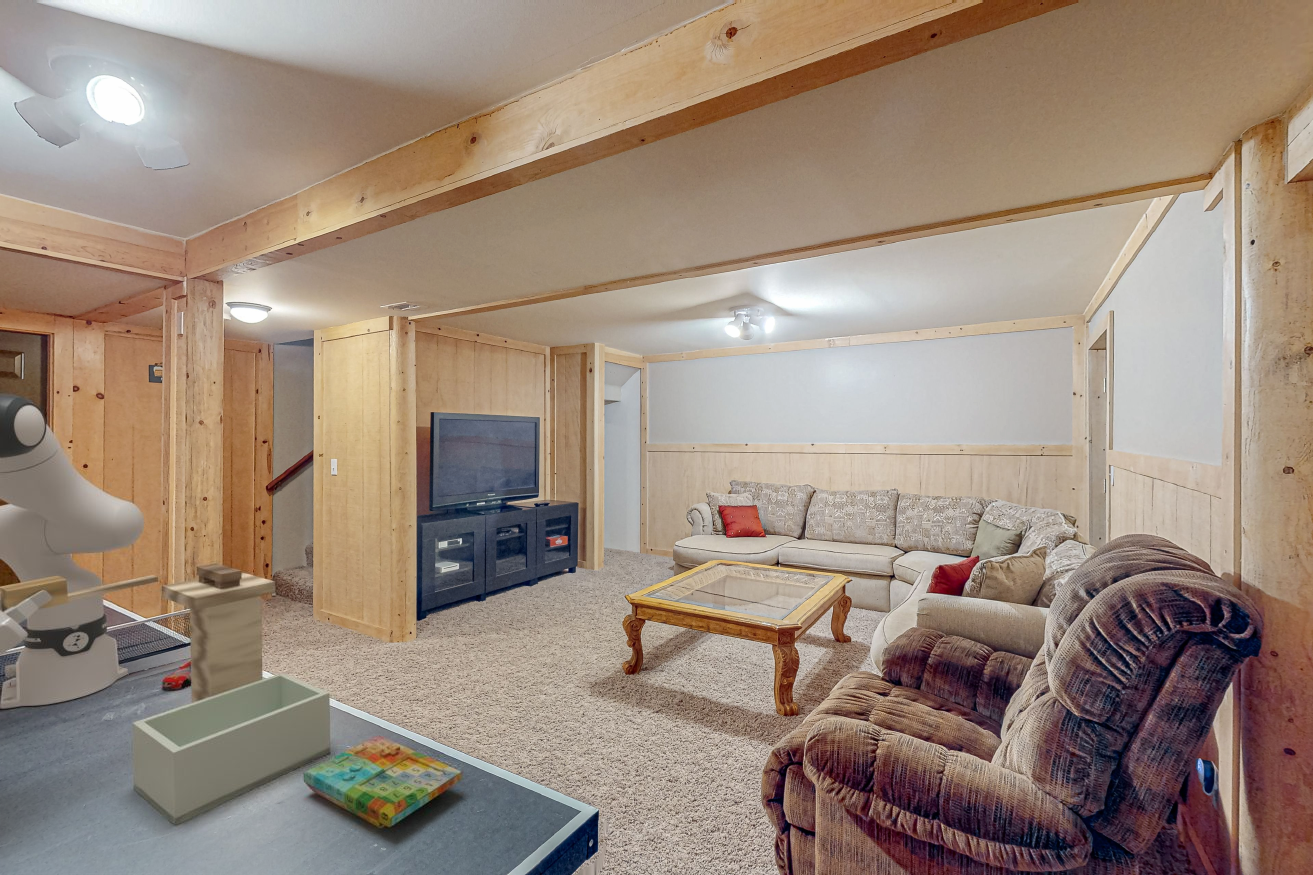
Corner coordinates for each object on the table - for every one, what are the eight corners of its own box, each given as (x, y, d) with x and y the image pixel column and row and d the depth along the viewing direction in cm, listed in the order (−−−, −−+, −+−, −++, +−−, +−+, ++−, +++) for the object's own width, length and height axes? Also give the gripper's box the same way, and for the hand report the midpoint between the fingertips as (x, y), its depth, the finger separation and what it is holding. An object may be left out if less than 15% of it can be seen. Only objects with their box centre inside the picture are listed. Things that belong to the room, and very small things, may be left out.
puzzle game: (376, 730, 96) (462, 765, 86) (376, 758, 96) (462, 797, 86) (303, 766, 86) (390, 811, 76) (303, 797, 86) (391, 846, 76)
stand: (164, 731, 104) (161, 570, 104) (241, 704, 114) (238, 557, 114) (198, 755, 97) (195, 581, 96) (277, 723, 107) (274, 566, 106)
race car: (174, 694, 119) (174, 674, 119) (154, 691, 121) (154, 672, 121) (236, 667, 132) (235, 650, 132) (217, 665, 134) (217, 648, 133)
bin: (133, 788, 88) (132, 722, 88) (284, 727, 106) (283, 672, 105) (175, 825, 80) (173, 752, 80) (330, 752, 98) (329, 692, 97)
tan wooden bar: (1, 610, 84) (-1, 586, 84) (151, 578, 98) (149, 558, 98) (9, 615, 82) (6, 591, 82) (160, 582, 96) (159, 561, 96)
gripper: (-94, 667, 69) (47, 585, 79) (-119, 633, 80) (8, 564, 90) (-51, 702, 72) (80, 618, 82) (-81, 664, 83) (38, 594, 93)
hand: (42, 590), depth 86 cm, fingers closed on tan wooden bar, 4 cm apart
